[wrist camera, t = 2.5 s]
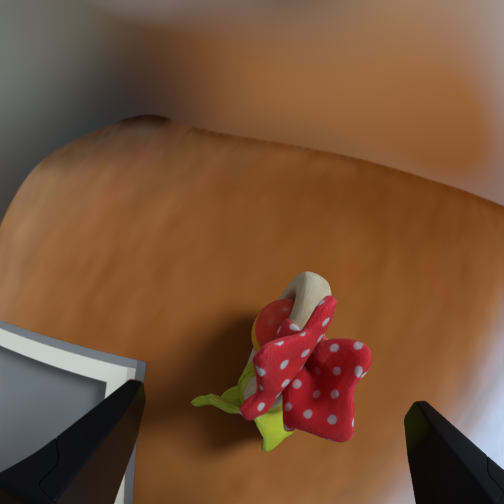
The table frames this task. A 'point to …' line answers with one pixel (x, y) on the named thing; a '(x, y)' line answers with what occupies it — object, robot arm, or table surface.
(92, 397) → the base plate
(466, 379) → the table surface
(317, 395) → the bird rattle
